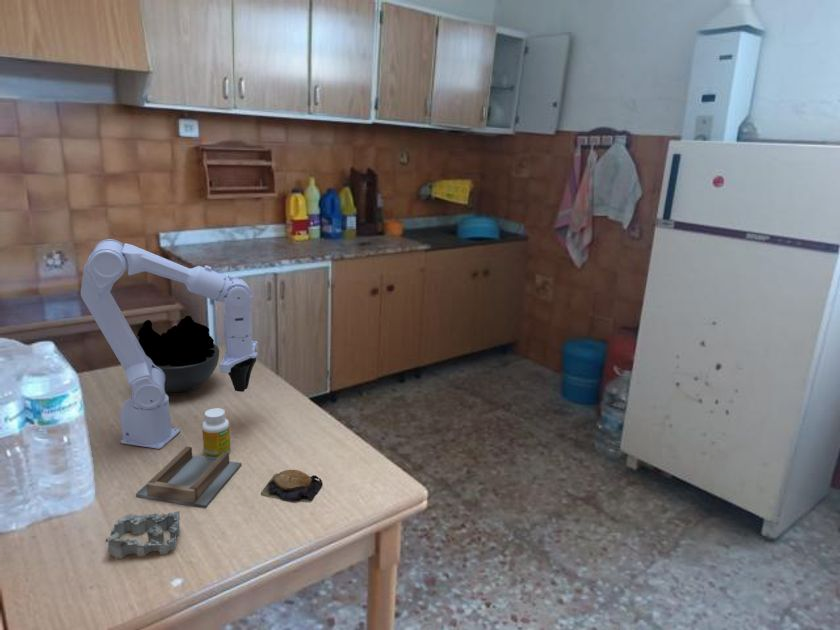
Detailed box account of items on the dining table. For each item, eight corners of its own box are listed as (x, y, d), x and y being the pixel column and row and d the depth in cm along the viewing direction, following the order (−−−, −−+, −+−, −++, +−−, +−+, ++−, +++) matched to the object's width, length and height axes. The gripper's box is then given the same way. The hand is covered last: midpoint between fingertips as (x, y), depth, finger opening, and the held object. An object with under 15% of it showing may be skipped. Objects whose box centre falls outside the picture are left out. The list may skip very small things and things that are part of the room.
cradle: (136, 496, 109) (134, 482, 108) (179, 456, 122) (177, 443, 121) (205, 508, 107) (204, 493, 106) (241, 465, 120) (240, 452, 119)
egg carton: (104, 562, 93) (100, 541, 92) (119, 530, 100) (116, 511, 99) (174, 557, 95) (172, 536, 94) (184, 526, 102) (182, 507, 101)
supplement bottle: (222, 461, 121) (219, 420, 118) (198, 457, 122) (195, 416, 119) (235, 448, 126) (233, 408, 123) (212, 444, 127) (210, 404, 124)
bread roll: (257, 499, 111) (257, 482, 110) (276, 474, 119) (275, 458, 118) (310, 508, 109) (310, 491, 108) (325, 482, 117) (325, 466, 116)
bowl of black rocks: (236, 379, 159) (233, 314, 153) (189, 411, 140) (183, 339, 134) (173, 367, 163) (168, 304, 158) (120, 397, 145) (112, 326, 139)
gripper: (240, 347, 121) (243, 405, 125) (269, 325, 134) (270, 378, 139) (209, 343, 122) (212, 401, 126) (240, 321, 135) (243, 375, 140)
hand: (241, 389), depth 132 cm, fingers closed
